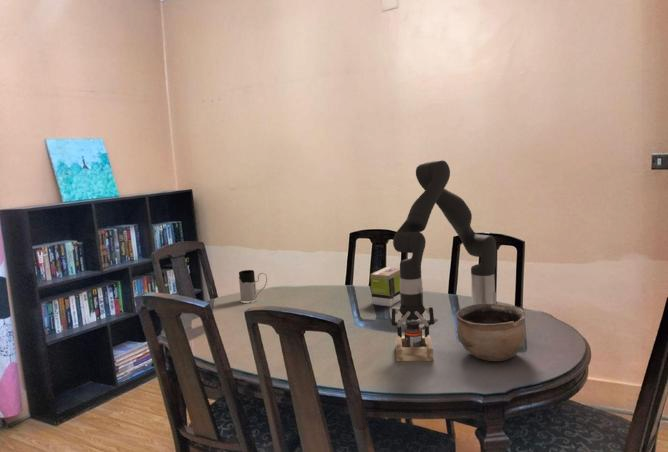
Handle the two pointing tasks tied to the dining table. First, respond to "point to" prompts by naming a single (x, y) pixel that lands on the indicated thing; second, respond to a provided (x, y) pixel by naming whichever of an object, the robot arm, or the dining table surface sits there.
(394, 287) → the tea box
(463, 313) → the ceramic bowl
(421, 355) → the square sleeve
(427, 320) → the caliper
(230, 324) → the dining table surface
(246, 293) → the glass holder
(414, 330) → the supplement bottle
